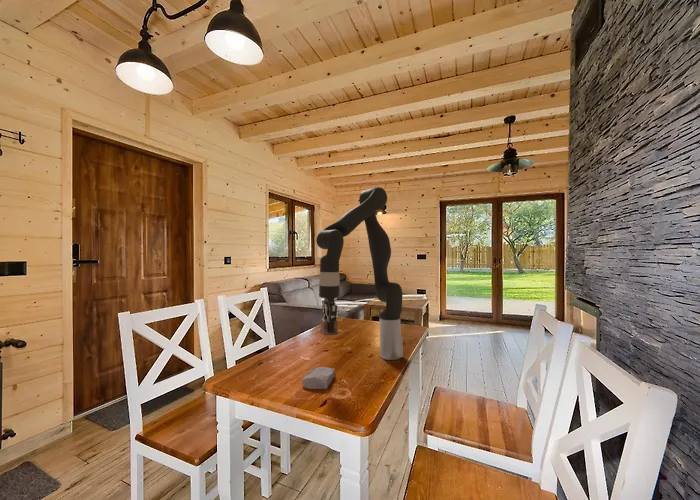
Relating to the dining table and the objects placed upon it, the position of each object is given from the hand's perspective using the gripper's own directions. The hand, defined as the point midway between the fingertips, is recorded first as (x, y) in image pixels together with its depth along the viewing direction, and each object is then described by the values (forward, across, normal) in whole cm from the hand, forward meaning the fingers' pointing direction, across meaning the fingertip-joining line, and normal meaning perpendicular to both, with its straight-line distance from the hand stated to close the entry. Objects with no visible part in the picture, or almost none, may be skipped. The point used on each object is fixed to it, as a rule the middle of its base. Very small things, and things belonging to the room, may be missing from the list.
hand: (328, 330), depth 105 cm
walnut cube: (+1, 0, 0) cm, 1 cm away
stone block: (+19, +1, +4) cm, 19 cm away
